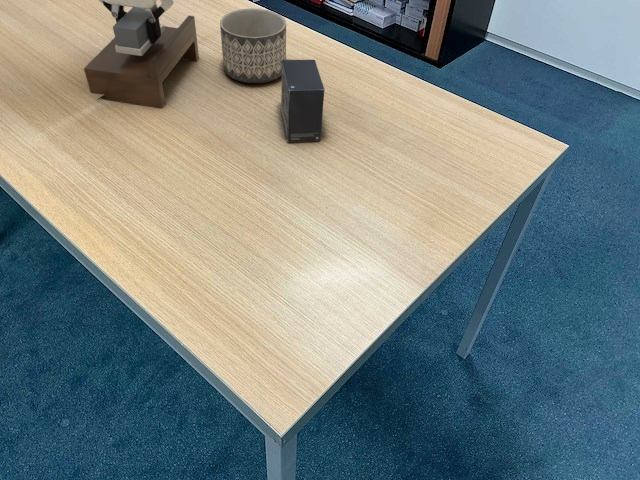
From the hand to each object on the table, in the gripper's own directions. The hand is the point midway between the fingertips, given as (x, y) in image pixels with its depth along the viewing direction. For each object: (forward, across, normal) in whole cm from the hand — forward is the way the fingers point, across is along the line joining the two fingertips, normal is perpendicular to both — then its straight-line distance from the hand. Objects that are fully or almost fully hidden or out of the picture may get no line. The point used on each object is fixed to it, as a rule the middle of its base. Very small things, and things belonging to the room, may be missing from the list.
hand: (140, 37), depth 103 cm
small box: (+8, +33, -9) cm, 35 cm away
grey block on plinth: (+1, 0, 0) cm, 1 cm away
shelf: (+8, 0, 0) cm, 8 cm away
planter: (+8, +20, +8) cm, 23 cm away
